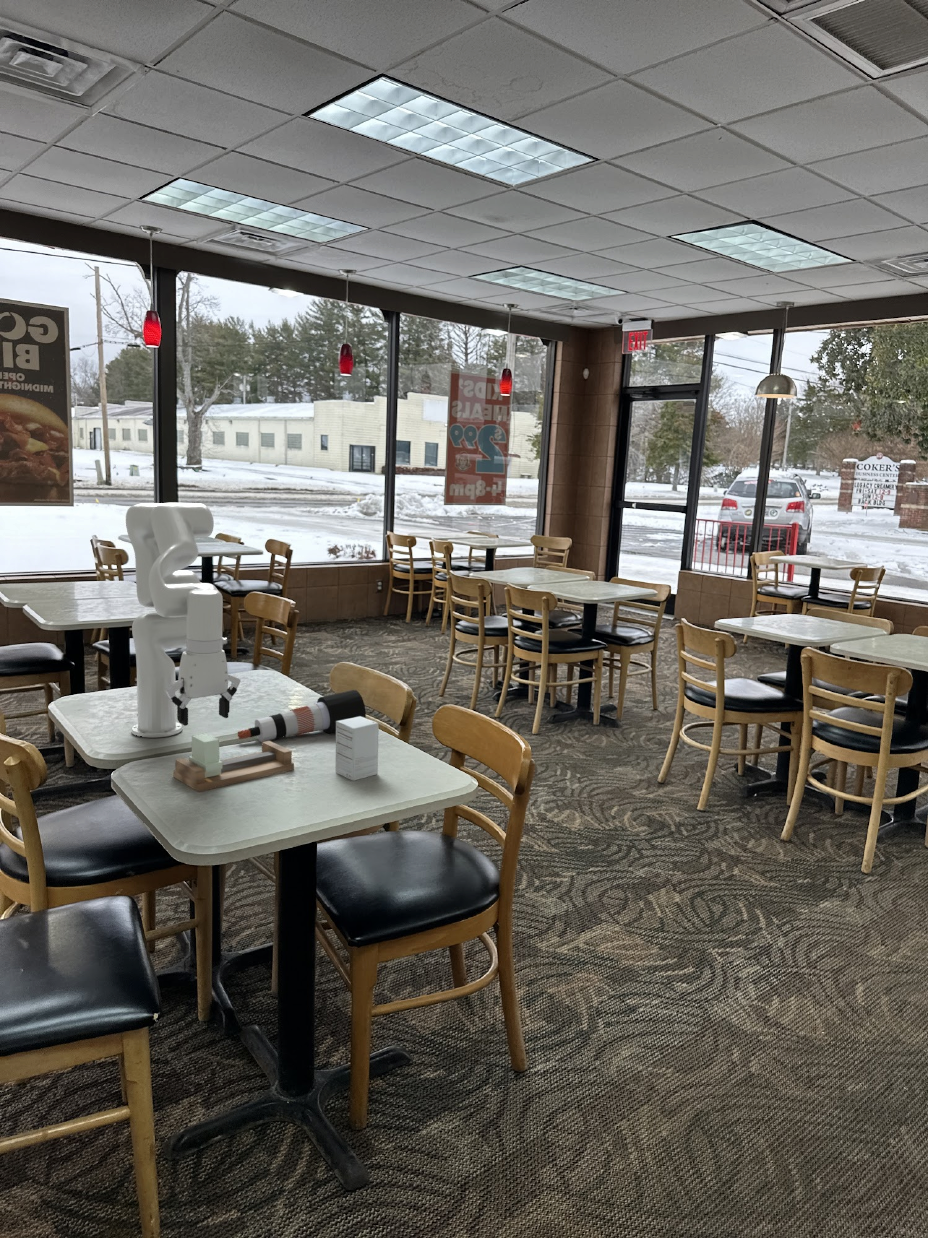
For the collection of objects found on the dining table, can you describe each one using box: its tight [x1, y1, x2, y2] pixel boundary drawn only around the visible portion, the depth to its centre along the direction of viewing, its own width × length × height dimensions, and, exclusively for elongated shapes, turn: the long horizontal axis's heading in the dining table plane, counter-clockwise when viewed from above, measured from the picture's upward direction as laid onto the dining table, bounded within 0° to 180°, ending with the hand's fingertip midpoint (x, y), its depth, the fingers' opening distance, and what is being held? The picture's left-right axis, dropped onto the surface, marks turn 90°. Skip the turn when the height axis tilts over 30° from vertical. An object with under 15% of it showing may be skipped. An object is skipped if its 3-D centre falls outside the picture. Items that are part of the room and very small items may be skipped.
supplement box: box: [334, 716, 380, 782], centre depth 200 cm, size 7×7×13 cm
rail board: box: [172, 740, 295, 793], centre depth 198 cm, size 12×24×4 cm, turn 134°
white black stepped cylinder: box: [237, 689, 367, 743], centre depth 228 cm, size 10×34×10 cm, turn 123°
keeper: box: [188, 732, 222, 778], centre depth 192 cm, size 8×4×8 cm, turn 44°
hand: (203, 720), depth 192 cm, fingers open, 9 cm apart
